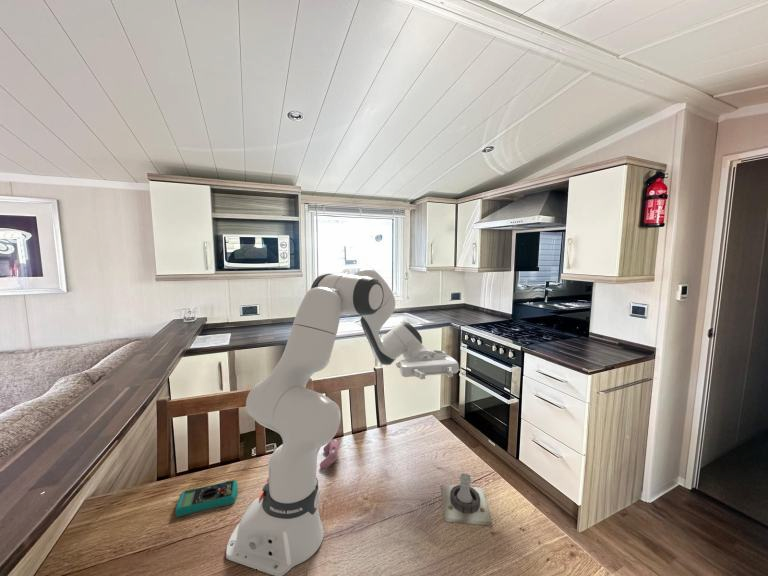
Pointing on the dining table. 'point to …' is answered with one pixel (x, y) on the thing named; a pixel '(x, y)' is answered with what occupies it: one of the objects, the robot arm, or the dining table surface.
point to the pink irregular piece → (330, 453)
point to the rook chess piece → (464, 489)
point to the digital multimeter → (206, 498)
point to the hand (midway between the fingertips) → (437, 375)
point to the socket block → (465, 506)
